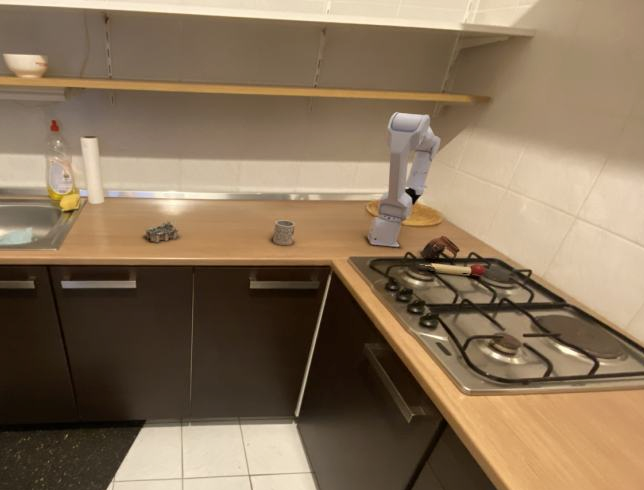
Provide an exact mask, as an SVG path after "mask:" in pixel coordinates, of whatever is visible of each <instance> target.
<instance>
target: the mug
mask: <svg viewBox="0 0 644 490" xmlns="http://www.w3.org/2000/svg"><path fill="white" fill-rule="evenodd" d="M295 226H296V223H295V222H294V221H292V220H287V219H279V220H276V221H275V223H274V229H273V230H274V231H273V238H272V242H273V243H275V244H277V245H281V246H288V245H291V244H292V243H293V240H294V232H295Z"/></svg>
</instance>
